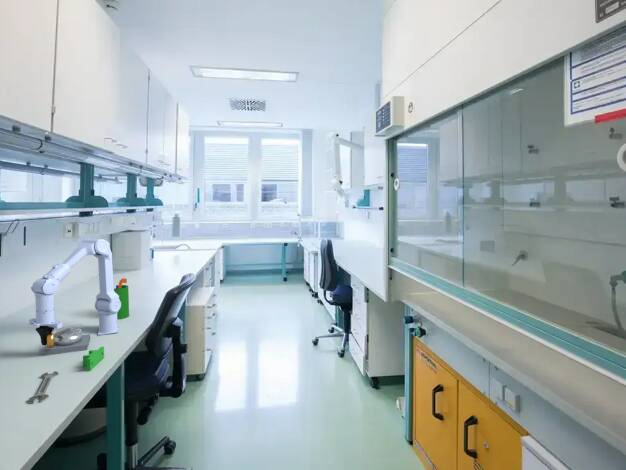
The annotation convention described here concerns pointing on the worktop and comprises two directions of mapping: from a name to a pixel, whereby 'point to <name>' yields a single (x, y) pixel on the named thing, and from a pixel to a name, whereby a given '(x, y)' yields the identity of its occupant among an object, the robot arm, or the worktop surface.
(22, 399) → the worktop surface
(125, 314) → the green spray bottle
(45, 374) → the wrench
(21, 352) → the worktop surface
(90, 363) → the pipe clamp
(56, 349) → the base plate
